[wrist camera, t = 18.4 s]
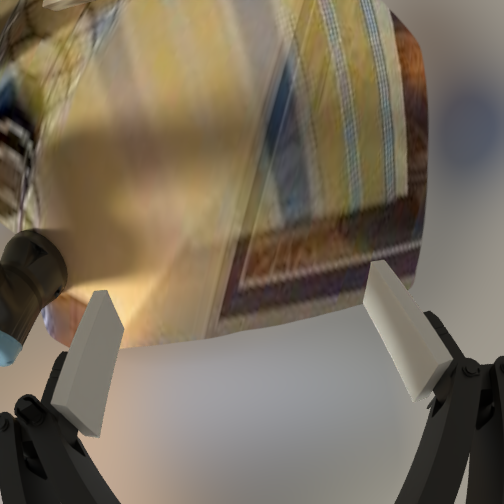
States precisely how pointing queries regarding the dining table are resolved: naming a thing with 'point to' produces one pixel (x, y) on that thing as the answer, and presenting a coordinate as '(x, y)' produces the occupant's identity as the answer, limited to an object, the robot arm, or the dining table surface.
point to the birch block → (62, 4)
